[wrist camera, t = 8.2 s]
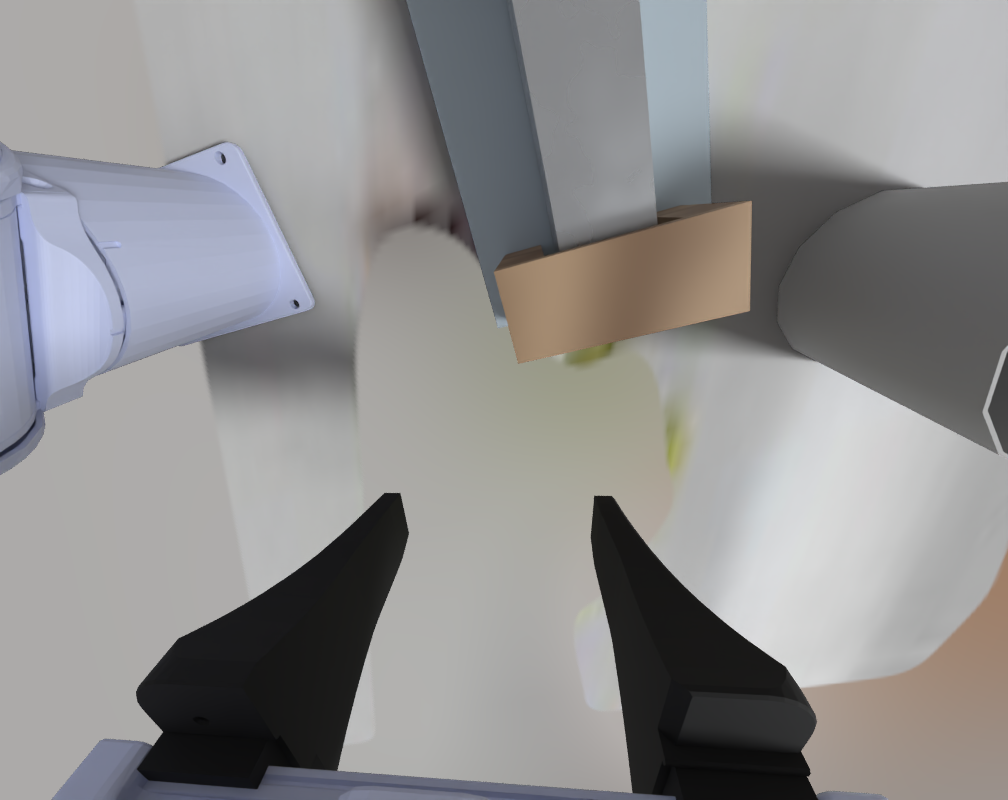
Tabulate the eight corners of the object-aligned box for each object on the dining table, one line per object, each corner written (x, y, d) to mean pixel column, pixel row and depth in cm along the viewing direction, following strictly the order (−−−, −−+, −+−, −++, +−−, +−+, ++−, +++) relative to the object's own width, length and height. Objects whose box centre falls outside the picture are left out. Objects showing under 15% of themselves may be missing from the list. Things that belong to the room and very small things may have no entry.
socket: (522, 322, 20) (518, 363, 14) (505, 254, 18) (493, 271, 13) (684, 282, 18) (749, 311, 13) (679, 205, 17) (751, 200, 11)
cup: (782, 217, 17) (1044, 219, 8) (990, 161, 16) (1573, 94, 7) (774, 377, 21) (954, 498, 12) (944, 344, 19) (1293, 453, 11)
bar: (560, 285, 19) (568, 306, 14) (457, -240, 12) (416, -492, 8) (633, 267, 18) (664, 282, 14) (570, -300, 11) (593, -613, 7)
